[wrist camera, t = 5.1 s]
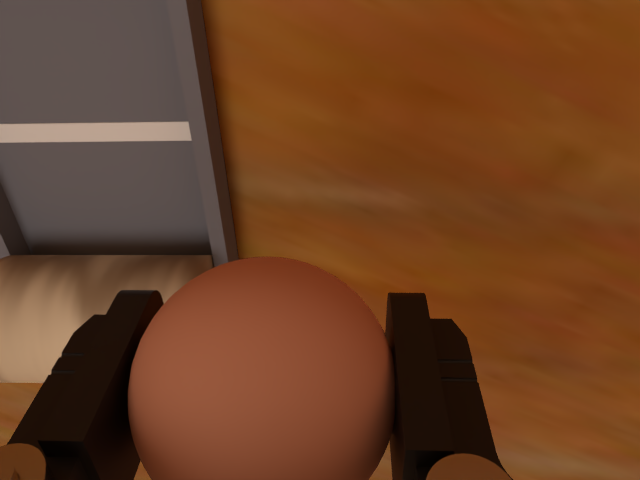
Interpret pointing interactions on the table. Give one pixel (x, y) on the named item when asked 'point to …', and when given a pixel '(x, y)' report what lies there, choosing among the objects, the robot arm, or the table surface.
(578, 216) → the table surface
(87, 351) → the robot arm
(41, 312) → the log roller
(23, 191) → the runway
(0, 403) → the table surface
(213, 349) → the ball
